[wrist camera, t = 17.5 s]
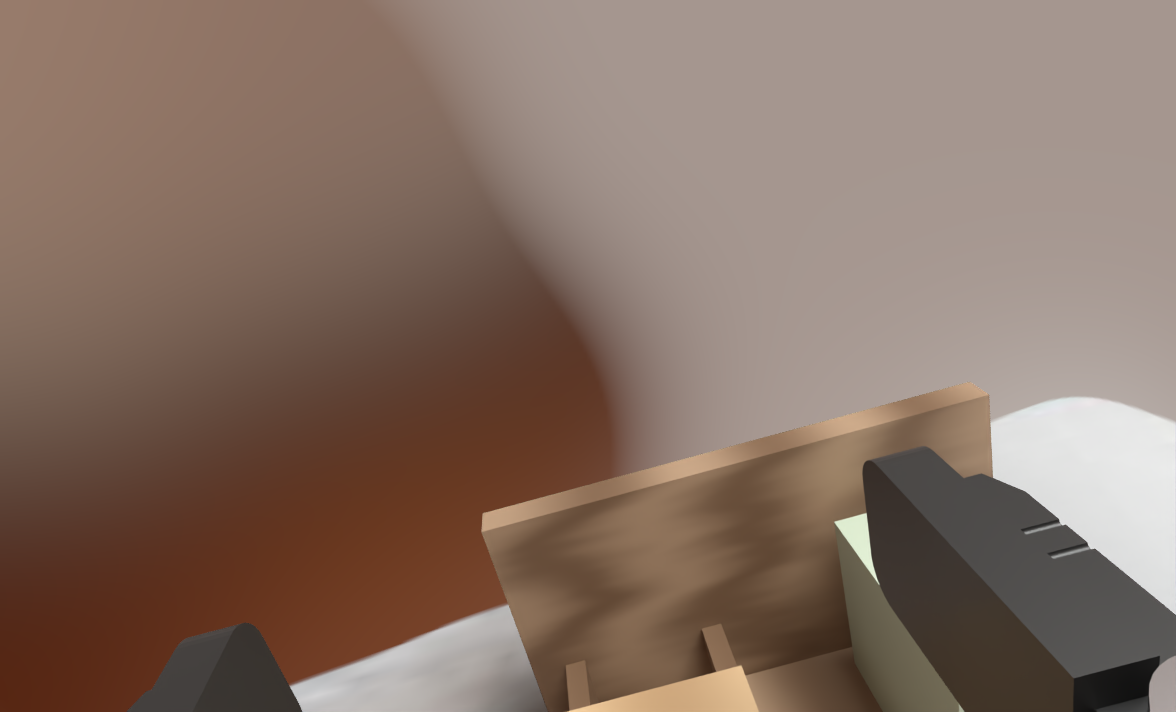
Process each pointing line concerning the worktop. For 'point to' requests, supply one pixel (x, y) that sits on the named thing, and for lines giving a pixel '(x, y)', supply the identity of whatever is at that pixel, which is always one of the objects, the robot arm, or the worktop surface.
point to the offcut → (884, 634)
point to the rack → (716, 561)
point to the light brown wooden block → (688, 696)
